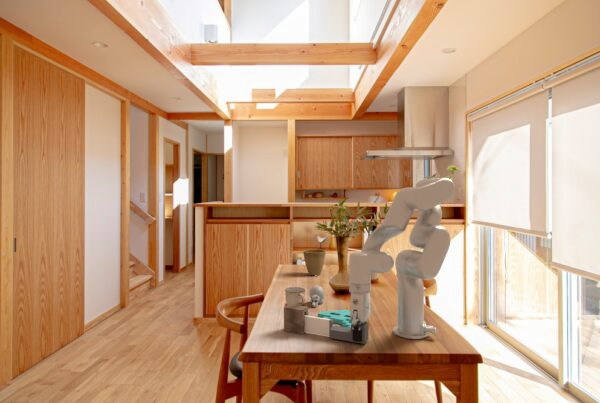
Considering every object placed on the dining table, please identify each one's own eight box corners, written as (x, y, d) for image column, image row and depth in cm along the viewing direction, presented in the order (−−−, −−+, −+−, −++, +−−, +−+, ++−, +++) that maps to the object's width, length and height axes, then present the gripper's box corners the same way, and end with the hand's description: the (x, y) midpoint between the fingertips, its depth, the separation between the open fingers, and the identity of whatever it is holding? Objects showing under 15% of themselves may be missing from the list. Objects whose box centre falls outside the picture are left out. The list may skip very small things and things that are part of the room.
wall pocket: (308, 330, 147) (308, 306, 147) (302, 334, 142) (302, 310, 142) (290, 327, 150) (290, 304, 150) (283, 331, 146) (283, 307, 146)
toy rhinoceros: (306, 312, 179) (304, 297, 176) (312, 296, 190) (310, 282, 187) (321, 313, 177) (320, 298, 174) (326, 297, 188) (324, 282, 185)
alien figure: (353, 333, 145) (371, 319, 162) (353, 327, 145) (371, 314, 162) (307, 324, 155) (329, 312, 172) (307, 319, 155) (329, 307, 172)
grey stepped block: (368, 339, 136) (368, 322, 136) (364, 344, 132) (364, 326, 132) (334, 333, 142) (334, 317, 142) (329, 337, 137) (329, 321, 137)
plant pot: (315, 271, 262) (315, 248, 262) (330, 275, 251) (330, 251, 250) (298, 274, 252) (298, 250, 252) (313, 278, 241) (313, 253, 241)
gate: (332, 335, 140) (332, 319, 140) (331, 336, 139) (331, 320, 139) (301, 330, 146) (301, 314, 146) (300, 331, 145) (300, 315, 145)
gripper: (363, 294, 126) (363, 348, 126) (376, 283, 141) (376, 332, 141) (341, 291, 129) (341, 344, 129) (356, 281, 144) (356, 329, 144)
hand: (359, 337), depth 135 cm, fingers closed on grey stepped block, 5 cm apart
